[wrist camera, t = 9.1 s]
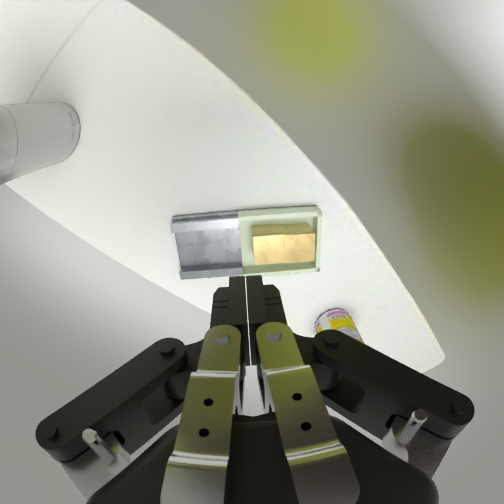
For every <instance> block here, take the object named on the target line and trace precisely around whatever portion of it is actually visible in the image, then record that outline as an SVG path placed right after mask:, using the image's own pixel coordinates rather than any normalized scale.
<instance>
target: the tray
mask: <svg viewBox="0 0 504 504" xmlns="http://www.w3.org/2000/svg"><path fill="white" fill-rule="evenodd" d="M238 221H239V230H240V242H241V254H242V265H243V276H245V278H246V276H249V275H261V276H274V275H285V274H297V273H308V272H318V271H320V256H321V232H322V211H321V210H320V209H319V208H318V206H298V207H281V208H266V209H252V210H239V211H238ZM296 223H309V225H310V226H311V228H312V229H313V231H314V232H315V256H314V261H310V262H298V263H275V264H262V265H255V264H254V256H253V245H252V229H251V226H254V225H268V224H280V225H281V224H296Z"/></svg>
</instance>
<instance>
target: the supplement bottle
mask: <svg viewBox="0 0 504 504" xmlns="http://www.w3.org/2000/svg"><path fill="white" fill-rule="evenodd" d="M327 329H334V330H338V331H341V332H343V333H345V334H347V335H349V336H350V337H352V338H354V339H356V340H358V341H360V342H362V343H364V342H363V340H362V338H361V336H360V334H359V332H358V330H357V328H356V326H355V324H354V322H353V321H352V319H351V317H350V315H349V314H348V313H347V312H346V311H344V310H341V309H334V310H330V311H328V312H326V313H324V314H323V315H322V316H321V317H320V318H319V319H318V321H317V323H316V332H317V333H319V332H320V331H323V330H327Z"/></svg>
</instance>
